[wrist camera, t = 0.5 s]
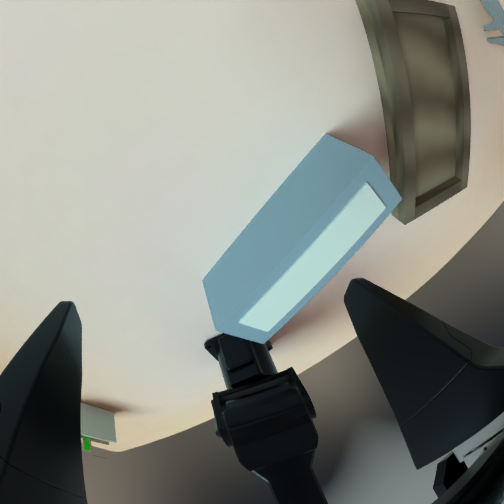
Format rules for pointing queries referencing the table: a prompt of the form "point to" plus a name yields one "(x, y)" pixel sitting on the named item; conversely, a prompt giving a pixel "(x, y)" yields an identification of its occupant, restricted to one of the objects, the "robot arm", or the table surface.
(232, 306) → the frame block
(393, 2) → the tray
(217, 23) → the table surface
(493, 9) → the caliper
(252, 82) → the table surface
